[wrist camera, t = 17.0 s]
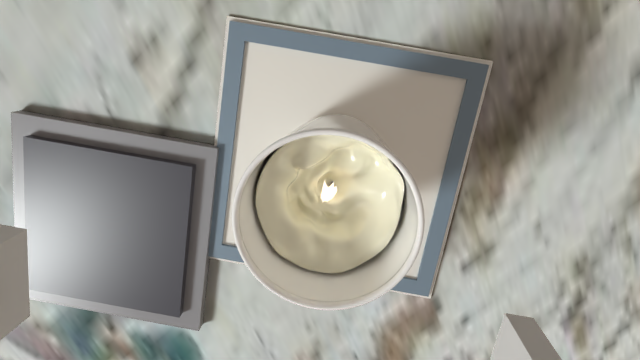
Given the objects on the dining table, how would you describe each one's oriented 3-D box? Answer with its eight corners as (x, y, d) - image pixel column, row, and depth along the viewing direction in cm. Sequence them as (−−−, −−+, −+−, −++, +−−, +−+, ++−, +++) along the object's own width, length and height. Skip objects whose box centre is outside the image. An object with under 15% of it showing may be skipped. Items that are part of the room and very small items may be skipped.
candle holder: (355, 76, 32) (357, 88, 21) (424, 187, 34) (461, 255, 22) (246, 148, 34) (192, 195, 23) (317, 249, 36) (300, 340, 24)
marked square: (228, 16, 32) (226, 15, 31) (492, 61, 31) (494, 61, 31) (203, 255, 37) (201, 258, 37) (430, 297, 37) (431, 300, 36)
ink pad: (20, 110, 35) (3, 113, 33) (221, 146, 34) (214, 151, 33) (24, 290, 39) (9, 301, 38) (202, 324, 39) (195, 336, 37)
